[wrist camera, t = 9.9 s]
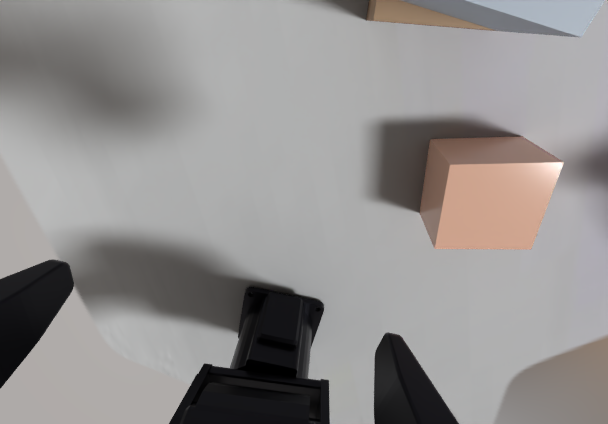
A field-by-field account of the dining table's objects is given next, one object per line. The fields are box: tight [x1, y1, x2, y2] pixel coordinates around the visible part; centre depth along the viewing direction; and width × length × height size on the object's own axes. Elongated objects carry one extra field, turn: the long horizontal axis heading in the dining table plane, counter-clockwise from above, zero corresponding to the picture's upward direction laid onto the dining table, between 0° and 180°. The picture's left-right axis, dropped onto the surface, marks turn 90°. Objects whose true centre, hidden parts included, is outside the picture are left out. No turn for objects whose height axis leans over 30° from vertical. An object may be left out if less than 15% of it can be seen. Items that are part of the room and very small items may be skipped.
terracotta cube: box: [420, 136, 564, 249], centre depth 18 cm, size 5×5×4 cm
